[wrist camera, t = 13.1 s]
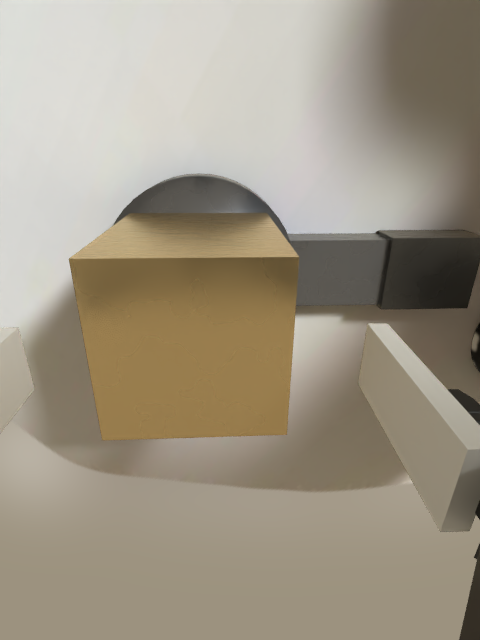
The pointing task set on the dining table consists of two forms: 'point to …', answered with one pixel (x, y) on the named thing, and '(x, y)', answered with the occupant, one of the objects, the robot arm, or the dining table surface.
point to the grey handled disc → (341, 251)
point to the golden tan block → (188, 325)
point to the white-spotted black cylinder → (476, 348)
